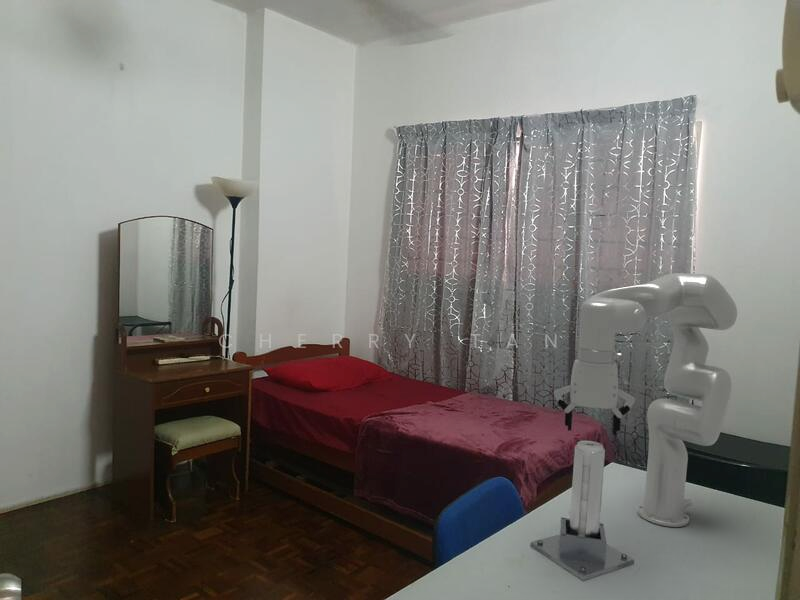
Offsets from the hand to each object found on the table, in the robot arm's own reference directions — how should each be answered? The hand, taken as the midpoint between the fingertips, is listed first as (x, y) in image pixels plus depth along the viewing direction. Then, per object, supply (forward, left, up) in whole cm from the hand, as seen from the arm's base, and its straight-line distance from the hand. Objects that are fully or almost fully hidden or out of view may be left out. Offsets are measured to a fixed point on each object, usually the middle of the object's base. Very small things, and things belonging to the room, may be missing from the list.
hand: (591, 431), depth 132 cm
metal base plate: (+1, 0, -29) cm, 29 cm away
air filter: (0, 0, -28) cm, 28 cm away
